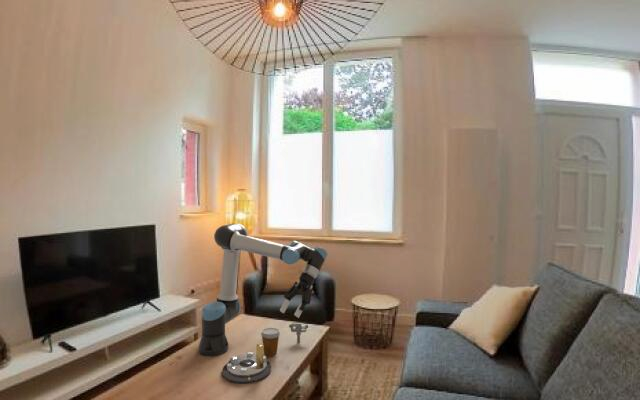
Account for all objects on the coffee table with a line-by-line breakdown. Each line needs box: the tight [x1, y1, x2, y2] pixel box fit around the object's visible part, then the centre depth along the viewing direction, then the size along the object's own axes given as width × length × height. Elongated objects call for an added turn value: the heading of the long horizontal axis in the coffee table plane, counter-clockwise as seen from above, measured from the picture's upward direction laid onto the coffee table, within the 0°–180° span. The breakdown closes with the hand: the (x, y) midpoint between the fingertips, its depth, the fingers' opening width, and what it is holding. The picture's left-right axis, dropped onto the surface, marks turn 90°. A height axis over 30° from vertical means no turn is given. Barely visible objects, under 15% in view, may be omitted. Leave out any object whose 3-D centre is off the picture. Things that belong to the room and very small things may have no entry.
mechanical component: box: [288, 322, 309, 344], centre depth 206 cm, size 3×10×10 cm, turn 89°
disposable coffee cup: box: [260, 327, 281, 358], centre depth 191 cm, size 10×10×12 cm
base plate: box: [221, 360, 272, 385], centre depth 173 cm, size 22×22×2 cm
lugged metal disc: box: [226, 343, 268, 377], centre depth 173 cm, size 18×18×12 cm
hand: (288, 314), depth 182 cm, fingers open, 13 cm apart
